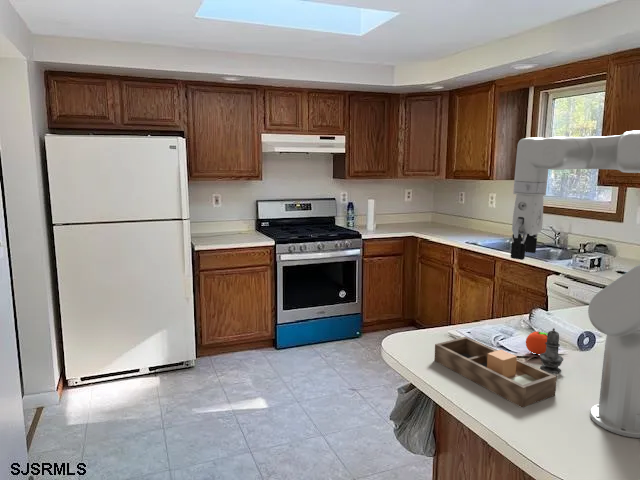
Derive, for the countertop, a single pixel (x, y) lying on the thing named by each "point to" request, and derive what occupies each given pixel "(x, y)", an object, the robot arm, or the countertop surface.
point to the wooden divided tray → (473, 365)
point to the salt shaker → (551, 354)
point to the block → (502, 363)
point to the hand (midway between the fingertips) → (523, 255)
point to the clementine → (537, 342)
